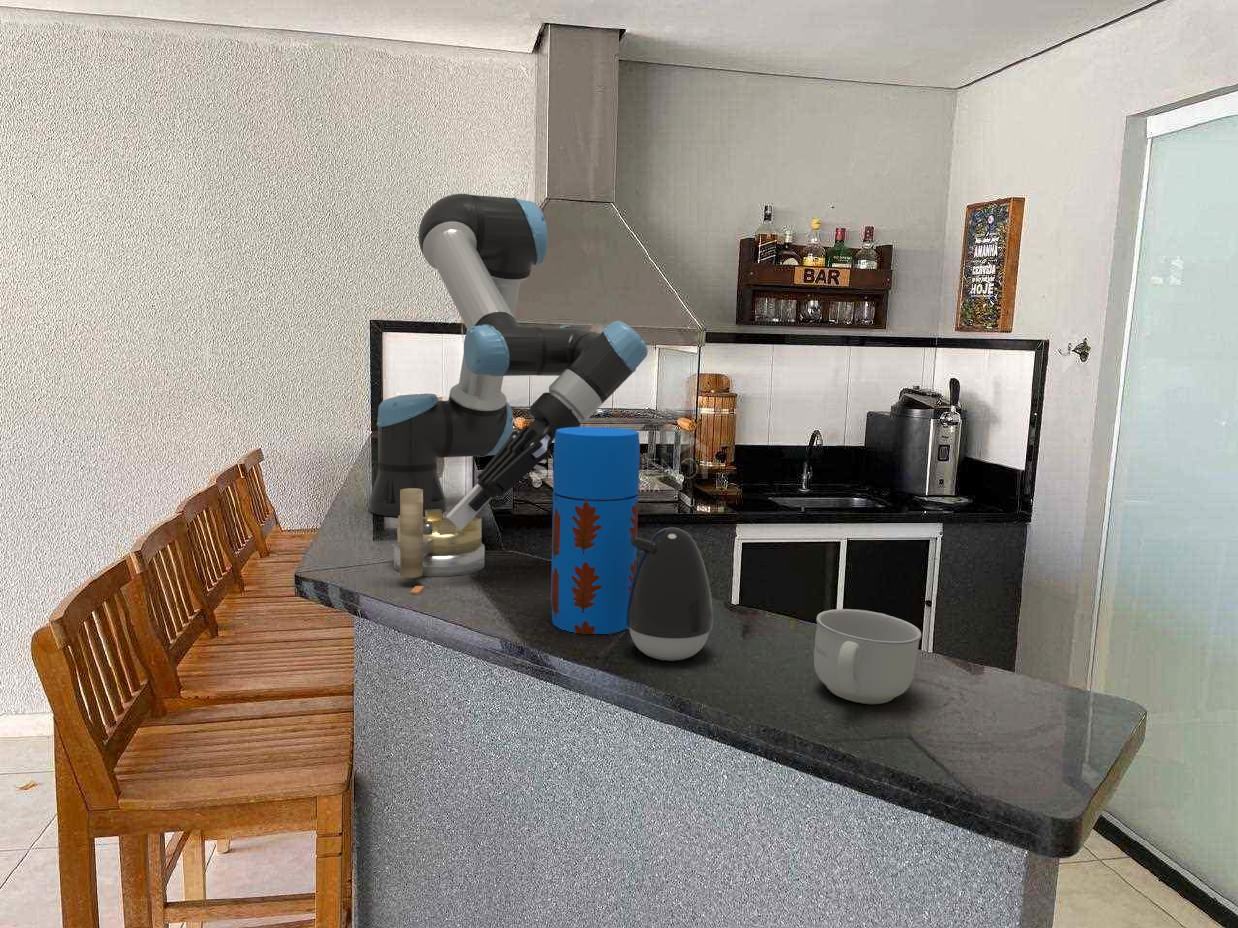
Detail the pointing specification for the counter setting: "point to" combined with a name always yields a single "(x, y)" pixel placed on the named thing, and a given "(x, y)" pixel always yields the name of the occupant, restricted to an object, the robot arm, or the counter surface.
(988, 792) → the counter surface
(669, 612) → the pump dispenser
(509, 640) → the counter surface
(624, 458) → the thermos
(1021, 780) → the counter surface
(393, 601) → the counter surface
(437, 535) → the studded brass turntable
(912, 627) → the teacup
